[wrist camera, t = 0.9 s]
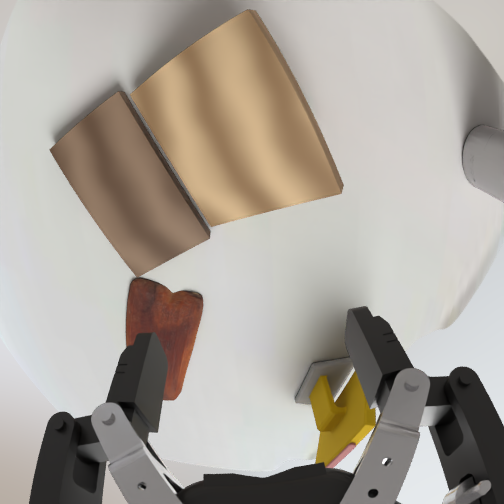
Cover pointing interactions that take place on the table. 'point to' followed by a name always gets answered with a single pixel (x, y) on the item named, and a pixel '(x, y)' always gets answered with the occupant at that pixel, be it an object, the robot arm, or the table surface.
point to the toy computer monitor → (336, 409)
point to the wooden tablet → (165, 325)
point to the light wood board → (238, 124)
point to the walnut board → (129, 186)
